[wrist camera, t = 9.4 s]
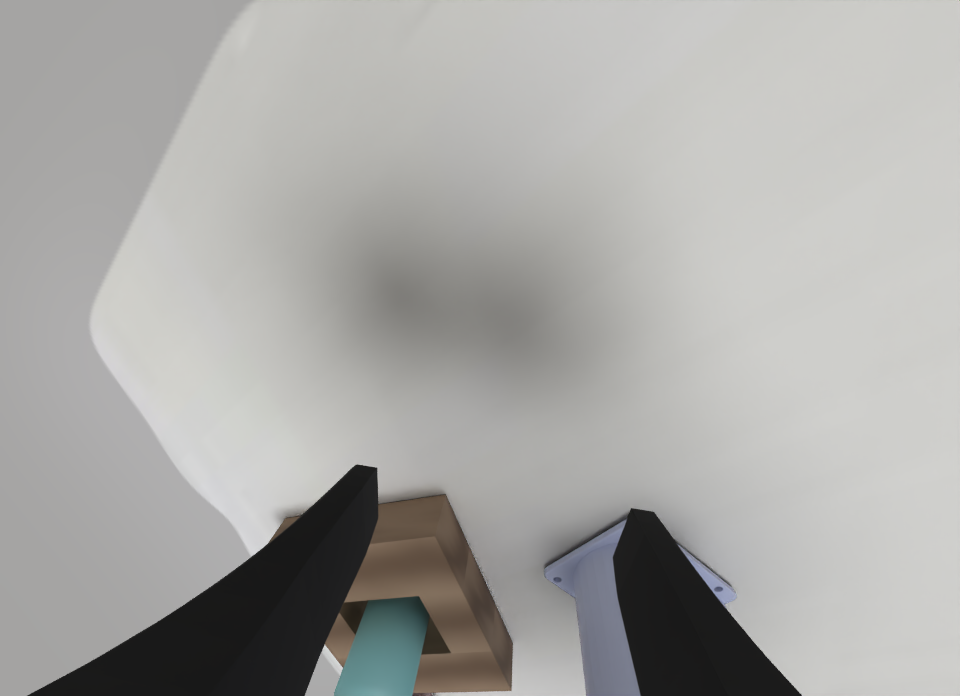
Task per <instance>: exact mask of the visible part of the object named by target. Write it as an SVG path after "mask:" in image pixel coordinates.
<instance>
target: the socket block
mask: <svg viewBox="0 0 960 696" xmlns="http://www.w3.org/2000/svg"><path fill="white" fill-rule="evenodd" d="M299 517H300V516H297V517H290V518H285V520H284V521H283V523H282V524H281V525H280V527H279V528H278V530H277V531H276V533H275V534H274V536H273V537H272V538H271V540H270V541H269V543H270V542H271V541H272V540H273V539H274V538H276V537H277V536H278V535H279V534H280V533H282V532H283V531H284V530H285V529H287V528H288V527H289V526H290V525H291V524H292V523H294V522H295V521H296V520H297V519H298V518H299ZM413 596H419V597H420V599H421V601H422V602H423V604H424V606H425V608H426V610H427V611H428V613H429V615H430V617H429V622H428V626H427V631H426V635H425V640H424V644H423V649H422V653H421V658H420V662H419V667H418V671H417V676H416V681H415V685H414V690H413V693H437V692H481V691H511V687H512V653H513V643H512V641H511V638H510V636H509V634H508V632H507V630H506V627H505V625H504V623H503V621H502V619H501V616H500V614H499V612H498V610H497V607H496V605H495V603H494V601H493V599H492V596H491V594H490V592H489V590H488V588H487V585H486V583H485V581H484V579H483V576H482V574H481V572H480V570H479V568H478V565H477V563H476V561H475V559H474V557H473V554H472V552H471V550H470V548H469V545H468V543H467V541H466V539H465V537H464V534H463V532H462V530H461V528H460V526H459V523H458V521H457V519H456V517H455V515H454V512H453V510H452V508H451V506H450V503H449V501H448V499H447V497H446V495H439V496H432V497H425V498H419V499H412V500H405V501H398V502H392V503H385V504H378V521H377V524H376V527H375V530H374V533H373V536H372V539H371V542H370V545H369V547H368V550H367V553H366V556H365V558H364V560H363V562H362V564H361V567H360V569H359V571H358V573H357V575H356V578H355V580H354V582H353V584H352V586H351V588H350V590H349V593H348V595H347V597H346V599H345V601H344V603H343V605H342V608H341V610H340V612H339V614H338V616H337V618H336V621H335V623H334V625H333V627H332V629H331V631H330V633H329V636H328V638H327V640H326V642H325V645H326V646H327V648H328V649H329V650H330V652H331V653H332V654H333V655H334V657H335V658H336V659H337V661H338V662H339V663H340V664H341V666H342V667H343V668H344V665H345V662H346V660H347V657H348V654H349V651H350V649H351V646H352V643H353V641H354V638H355V635H356V633H357V630H358V627H359V625H360V622H361V619H362V617H363V614H364V611H365V608H366V606H367V603H368V600H378V599H390V598H402V597H413Z"/></svg>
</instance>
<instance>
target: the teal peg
mask: <svg viewBox="0 0 960 696" xmlns="http://www.w3.org/2000/svg"><path fill="white" fill-rule="evenodd" d="M429 617H430V615H429V613H428V611H427V610H426V608H425V606H424V604H423V602H422V601H421V599H420V597H419V596H413V597H402V598H390V599H378V600H368V603H367V606H366V608H365V611H364V614H363V617H362V619H361V622H360V625H359V627H358V630H357V633H356V635H355V638H354V641H353V643H352V646H351V649H350V651H349V654H348V657H347V660H346V662H345V665H344V668H343V670H342V673H341V676H340V678H339V681H338V684H337V686H336V689H335V692H334V696H412V694H413V690H414V685H415V681H416V676H417V671H418V667H419V662H420V658H421V653H422V649H423V644H424V640H425V635H426V631H427V626H428V622H429Z"/></svg>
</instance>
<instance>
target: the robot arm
mask: <svg viewBox="0 0 960 696" xmlns="http://www.w3.org/2000/svg"><path fill="white" fill-rule="evenodd" d="M377 521H378V480H377V468H375V467H369V466H363V465H355V466H354V467H353V468H351V469H350V470H349V471H348V472H347V473H346V474H345V475H344V476H343V477H342V478H341V479H340V480H339V481H338V482H337V483H336V484H335V485H334V486H333V487H332V488H331V489H330V490H329V491H328V492H327V493H326V494H325V495H323V496H322V497H321V498H320V499H319V500H318V501H317V502H316V503H315V504H314V505H313V506H311V507H310V508H309V509H308V510H307V511H306V512H305V513H304V514H303V515H301V516H300V517H299V518H298V519H297V520H296V521H295V522H294V523H292V524H291V525H290V526H289V527H288V528H287V529H285V530H284V531H283V532H282V533H280V534H279V535H278V536H277V537H276V538H274V539H273V540H272V541H271V542H270V543H268V544H267V545H266V546H265V547H263V548H262V549H261V550H260V551H258V552H257V553H256V554H255V555H253V556H252V557H251V558H249V559H248V560H247V561H246V562H244V563H243V564H242V565H240V566H239V567H238V568H236V569H235V570H234V571H232V572H231V573H229V574H228V575H227V576H225V577H224V578H223V579H221V580H220V581H218V582H217V583H216V584H214V585H213V586H211V587H210V588H208V589H207V590H205V591H204V592H203V593H201V594H199V595H198V596H196V597H195V598H193V599H192V600H190V601H189V602H188V603H186V604H185V605H183V606H182V607H180V608H179V609H177V610H176V611H174V612H172V613H171V614H169V615H168V616H166V617H165V618H163V619H161V620H160V621H158V622H157V623H155V624H153V625H152V626H150V627H148V628H147V629H145V630H143V631H142V632H140V633H138V634H136V635H135V636H133V637H131V638H130V639H128V640H127V641H125V642H123V643H122V644H120V645H118V646H116V647H115V648H113V649H112V650H110V651H108V652H106V653H105V654H103V655H102V656H100V657H98V658H96V659H95V660H92V661H91V662H89V663H87V664H85V665H84V666H82V667H80V668H78V669H76V670H75V671H73V672H71V673H69V674H67V675H65V676H63V677H61V678H59V679H58V680H56V681H54V682H52V683H50V684H48V685H46V686H45V687H43V688H41V689H39V690H37V691H35V692H33V693H31V694H30V695H28V696H305V693H306V690H307V688H308V685H309V682H310V680H311V677H312V674H313V672H314V669H315V666H316V664H317V661H318V659H319V656H320V654H321V652H322V649H323V647H324V645H325V642H326V640H327V638H328V636H329V633H330V631H331V629H332V627H333V625H334V623H335V621H336V618H337V616H338V614H339V612H340V610H341V608H342V605H343V603H344V601H345V599H346V597H347V595H348V593H349V590H350V588H351V586H352V584H353V582H354V580H355V578H356V575H357V573H358V571H359V569H360V567H361V564H362V562H363V560H364V558H365V556H366V553H367V550H368V547H369V545H370V542H371V539H372V536H373V533H374V530H375V527H376V524H377ZM544 575H545V577H546V578H547V579H548V580H550V581H551V582H552V583H554V584H555V585H557V586H558V587H560V588H561V589H563V590H564V591H565V592H567V593H568V594H570V595H571V596H573V597H574V598H575V599H576V608H577V617H578V626H579V635H580V643H581V652H582V661H583V670H584V679H585V688H586V696H802V695H801V694H800V693H799V692H798V691H797V690H796V689H795V688H794V686H793V685H792V684H791V683H790V682H789V681H788V680H787V679H786V678H785V677H784V676H783V674H782V673H781V672H780V671H779V670H778V669H777V668H776V667H775V666H774V665H773V664H772V662H771V661H770V660H769V659H768V658H767V657H766V656H765V655H764V653H763V652H762V651H761V650H760V649H759V648H758V647H757V645H756V644H755V643H754V642H753V641H752V639H751V638H750V637H749V636H748V635H747V633H746V632H745V631H744V630H743V629H742V627H741V626H740V625H739V624H738V623H737V621H736V620H735V619H734V618H733V617H732V615H731V614H730V613H729V612H728V610H727V609H726V606H725V604H726V603H729V602H731V601H733V600H735V598H736V597H737V595H736V593H735V591H734V589H733V588H732V587H730V586H729V585H728V584H727V583H725V582H724V581H723V580H722V579H720V578H719V577H718V576H717V575H716V574H714V573H713V572H712V571H711V570H709V569H708V568H707V567H706V566H704V565H703V564H702V563H701V562H699V561H698V560H697V559H696V558H694V557H693V556H692V555H691V554H689V553H688V552H687V551H686V550H684V549H683V548H682V547H681V546H679V545H678V544H677V543H676V542H675V540H674V539H673V538H672V536H671V535H670V533H669V532H668V531H667V529H666V528H665V527H664V525H663V524H662V522H661V521H660V520H659V518H658V517H657V516H656V514H655V513H654V512H651V511H645V510H639V509H633V508H631V510H630V513H629V515H628V518H627V519H626V520H624V521H622V522H621V523H619V524H617V525H616V526H614V527H612V528H611V529H609V530H607V531H606V532H604V533H602V534H601V535H599V536H597V537H596V538H594V539H592V540H591V541H589V542H587V543H586V544H584V545H582V546H581V547H579V548H577V549H576V550H574V551H572V552H571V553H569V554H567V555H566V556H564V557H562V558H561V559H559V560H557V561H556V562H554V563H552V564H551V565H549V566H547V567H546V568H545V569H544Z"/></svg>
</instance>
